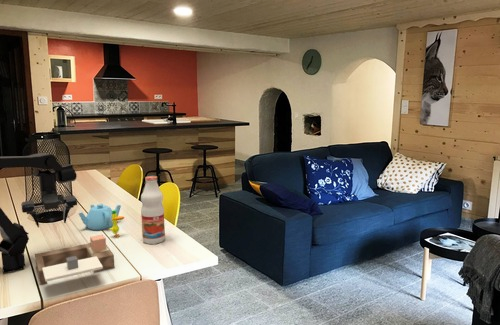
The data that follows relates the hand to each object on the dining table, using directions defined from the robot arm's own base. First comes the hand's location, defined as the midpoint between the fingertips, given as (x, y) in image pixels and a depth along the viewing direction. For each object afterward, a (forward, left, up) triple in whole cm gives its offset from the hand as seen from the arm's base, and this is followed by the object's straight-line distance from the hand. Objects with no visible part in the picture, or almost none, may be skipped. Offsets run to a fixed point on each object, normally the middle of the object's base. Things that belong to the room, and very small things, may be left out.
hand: (51, 225), depth 151 cm
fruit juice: (+38, -7, -12) cm, 40 cm away
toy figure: (+26, +6, -12) cm, 29 cm away
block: (+13, -17, -7) cm, 23 cm away
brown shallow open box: (+5, -17, -12) cm, 21 cm away
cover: (+2, -30, -7) cm, 31 cm away
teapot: (+23, +24, -12) cm, 35 cm away
